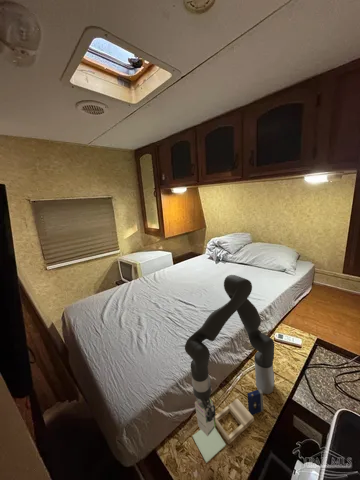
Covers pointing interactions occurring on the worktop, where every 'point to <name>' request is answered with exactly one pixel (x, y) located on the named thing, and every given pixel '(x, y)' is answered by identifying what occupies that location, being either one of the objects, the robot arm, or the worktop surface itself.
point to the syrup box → (204, 418)
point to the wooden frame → (239, 414)
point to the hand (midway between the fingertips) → (205, 412)
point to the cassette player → (255, 401)
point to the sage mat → (209, 443)
